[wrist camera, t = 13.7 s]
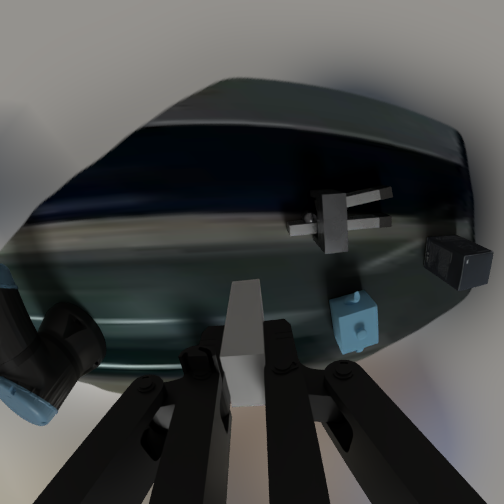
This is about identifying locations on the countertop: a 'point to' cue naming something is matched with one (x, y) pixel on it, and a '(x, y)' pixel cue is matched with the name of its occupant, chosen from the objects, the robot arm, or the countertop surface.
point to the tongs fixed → (354, 222)
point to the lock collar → (331, 220)
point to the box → (458, 261)
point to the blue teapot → (354, 321)
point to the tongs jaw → (367, 195)
